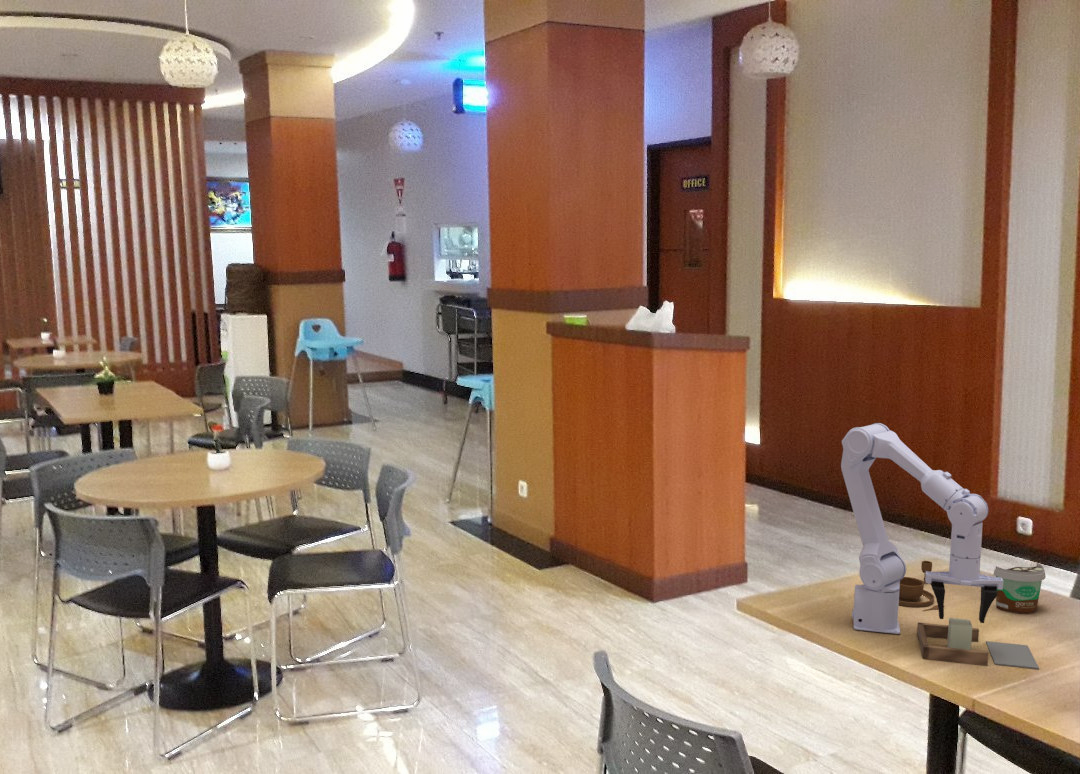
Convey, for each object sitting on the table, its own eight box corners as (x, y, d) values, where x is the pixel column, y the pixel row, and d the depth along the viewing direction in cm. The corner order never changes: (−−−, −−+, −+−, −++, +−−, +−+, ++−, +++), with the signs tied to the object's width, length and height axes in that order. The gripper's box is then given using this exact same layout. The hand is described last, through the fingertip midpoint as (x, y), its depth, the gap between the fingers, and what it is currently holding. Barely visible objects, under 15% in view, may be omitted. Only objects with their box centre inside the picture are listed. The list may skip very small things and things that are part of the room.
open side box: (923, 658, 206) (923, 646, 205) (917, 633, 219) (917, 622, 219) (987, 665, 202) (988, 653, 202) (977, 639, 216) (978, 628, 216)
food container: (1009, 618, 229) (1012, 574, 228) (990, 608, 235) (993, 566, 234) (1055, 613, 232) (1059, 570, 231) (1035, 604, 238) (1039, 562, 237)
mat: (994, 664, 203) (995, 663, 203) (985, 642, 215) (986, 641, 214) (1039, 669, 201) (1039, 667, 201) (1027, 646, 212) (1027, 645, 212)
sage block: (949, 652, 209) (951, 624, 208) (947, 645, 213) (949, 617, 212) (970, 654, 208) (972, 626, 207) (967, 647, 212) (969, 619, 211)
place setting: (860, 592, 247) (861, 568, 246) (923, 582, 255) (925, 559, 254) (914, 616, 231) (915, 591, 230) (980, 604, 239) (981, 580, 238)
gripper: (929, 557, 206) (925, 622, 208) (1007, 563, 202) (1002, 629, 204) (925, 547, 212) (922, 610, 214) (1001, 553, 209) (997, 617, 210)
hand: (961, 619), depth 209 cm, fingers open, 7 cm apart
